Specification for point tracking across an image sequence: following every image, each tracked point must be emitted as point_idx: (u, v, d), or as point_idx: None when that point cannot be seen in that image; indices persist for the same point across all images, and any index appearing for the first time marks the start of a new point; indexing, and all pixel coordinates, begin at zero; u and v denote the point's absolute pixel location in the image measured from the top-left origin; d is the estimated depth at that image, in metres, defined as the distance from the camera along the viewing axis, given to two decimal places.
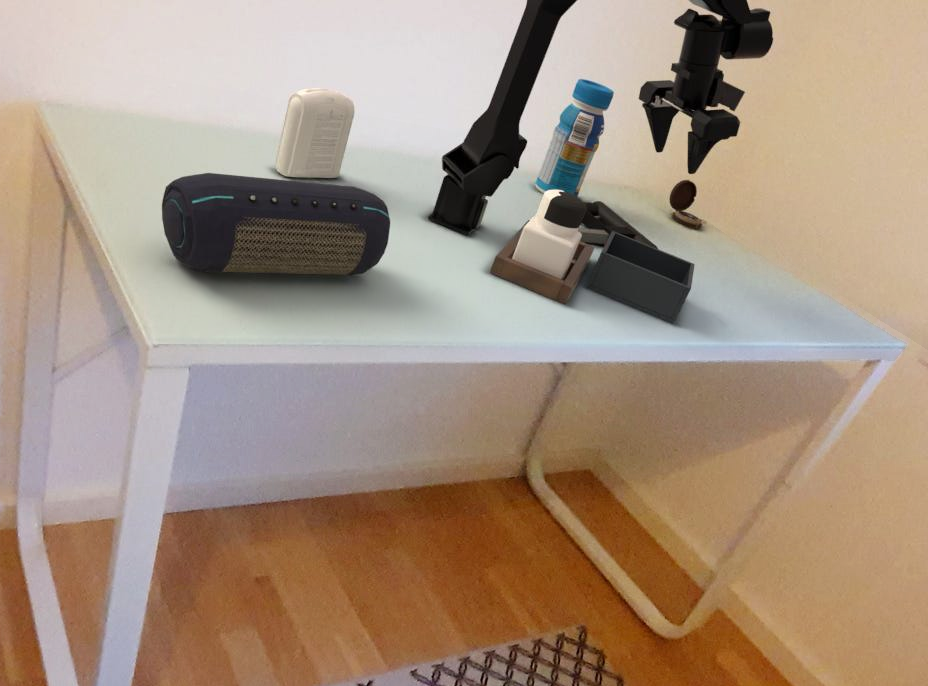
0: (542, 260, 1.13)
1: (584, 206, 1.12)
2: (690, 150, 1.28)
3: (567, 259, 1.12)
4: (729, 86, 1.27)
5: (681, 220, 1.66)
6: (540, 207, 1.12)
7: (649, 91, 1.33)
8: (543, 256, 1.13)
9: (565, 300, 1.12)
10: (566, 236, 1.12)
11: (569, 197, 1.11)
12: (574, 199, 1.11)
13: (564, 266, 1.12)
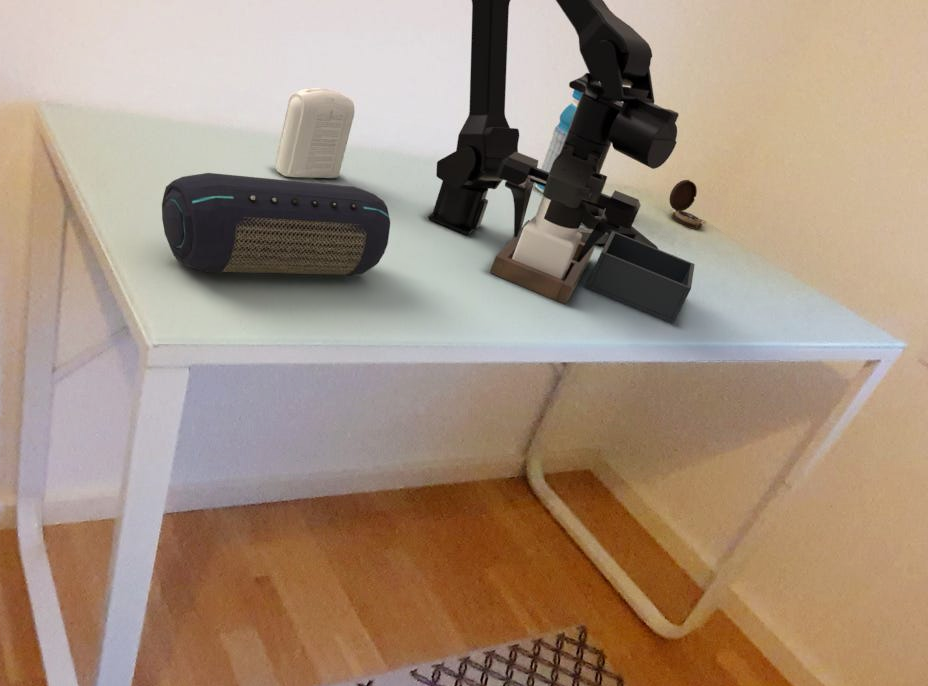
0: (542, 260, 1.13)
1: (584, 206, 1.12)
2: None
3: (567, 259, 1.12)
4: (556, 161, 1.06)
5: (681, 220, 1.66)
6: (540, 207, 1.12)
7: None
8: (543, 256, 1.13)
9: (565, 300, 1.12)
10: (566, 236, 1.13)
11: None
12: None
13: (564, 266, 1.13)
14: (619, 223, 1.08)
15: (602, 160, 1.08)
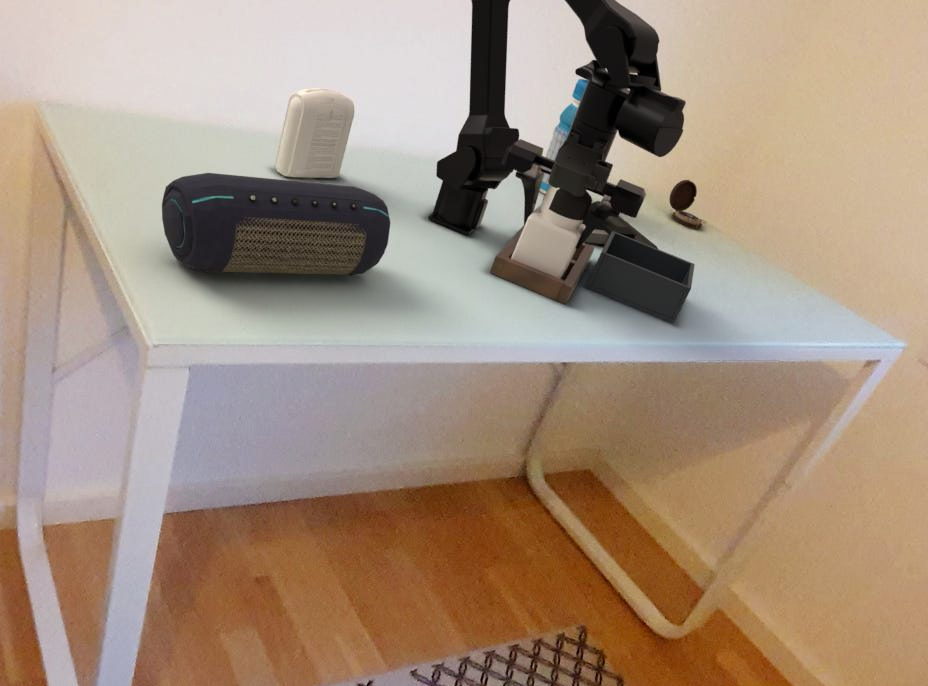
0: (545, 251, 1.12)
1: (589, 198, 1.11)
2: None
3: (570, 251, 1.11)
4: (561, 149, 1.05)
5: (681, 220, 1.66)
6: (545, 197, 1.12)
7: None
8: (546, 247, 1.12)
9: (565, 300, 1.12)
10: (570, 228, 1.12)
11: None
12: None
13: (567, 258, 1.12)
14: (624, 212, 1.08)
15: (608, 148, 1.07)
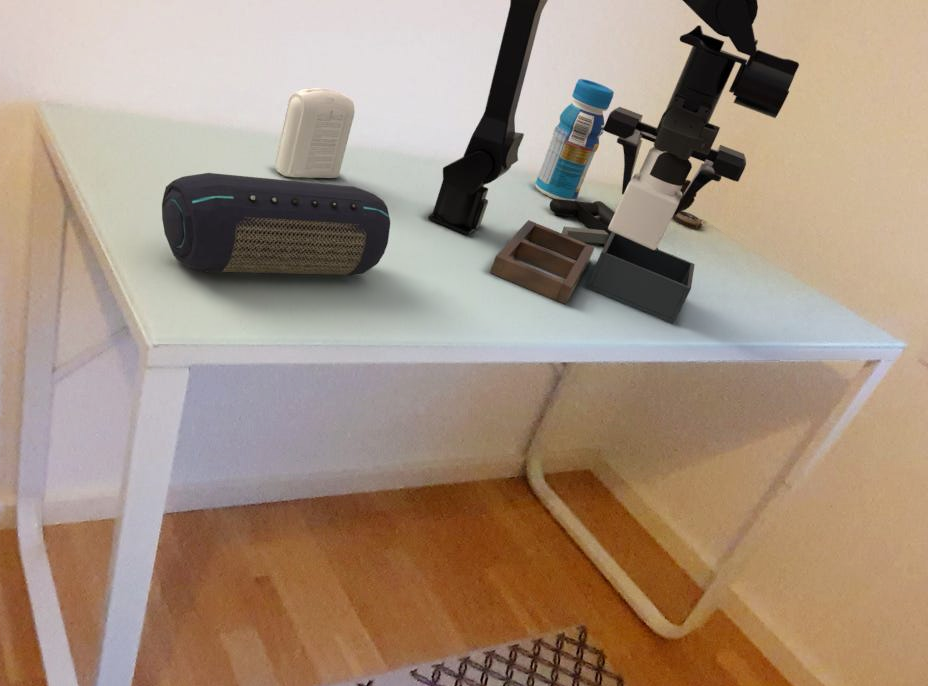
0: (645, 216, 1.14)
1: (690, 164, 1.12)
2: None
3: (671, 216, 1.13)
4: (667, 113, 1.06)
5: (681, 220, 1.66)
6: (645, 163, 1.13)
7: None
8: (646, 212, 1.13)
9: (565, 300, 1.12)
10: (670, 193, 1.13)
11: None
12: None
13: (667, 223, 1.13)
14: (727, 176, 1.09)
15: (711, 113, 1.08)
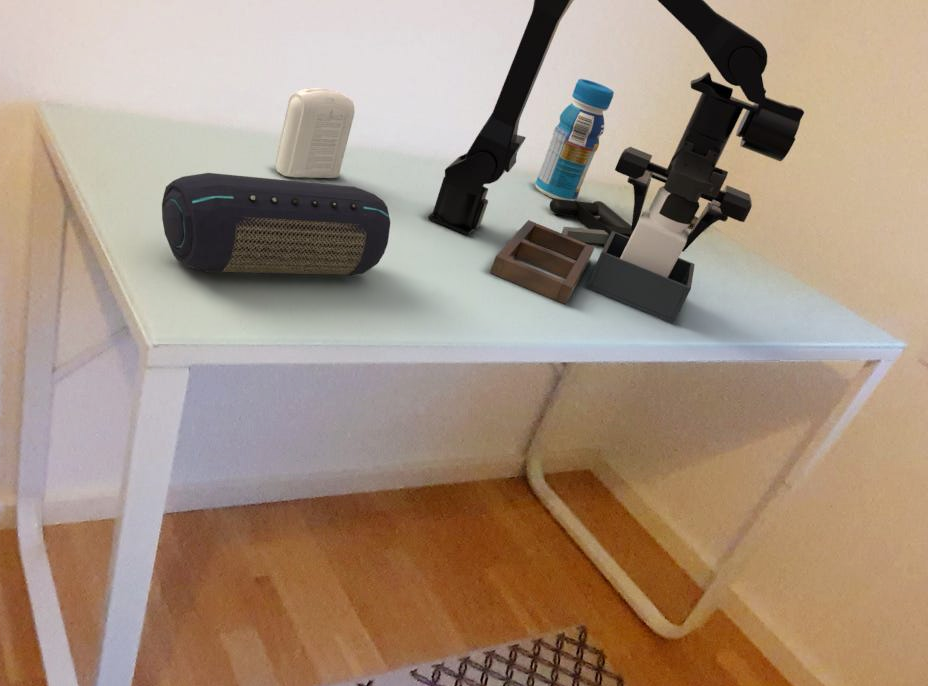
0: (654, 253, 1.18)
1: (698, 203, 1.17)
2: None
3: (679, 253, 1.17)
4: (677, 156, 1.11)
5: None
6: (655, 202, 1.17)
7: None
8: (655, 249, 1.18)
9: (565, 300, 1.12)
10: (678, 231, 1.18)
11: None
12: None
13: (675, 260, 1.18)
14: (734, 217, 1.13)
15: (719, 156, 1.13)
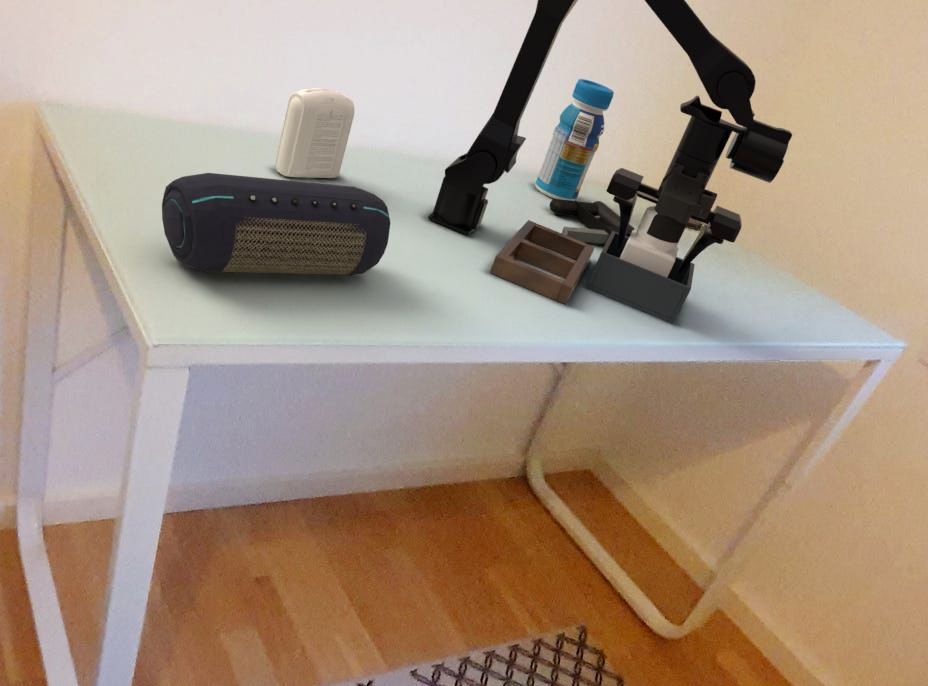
0: None
1: None
2: None
3: (668, 272, 1.19)
4: (667, 179, 1.12)
5: None
6: (642, 223, 1.19)
7: None
8: None
9: (565, 300, 1.12)
10: (667, 250, 1.19)
11: None
12: None
13: None
14: (724, 237, 1.15)
15: (709, 178, 1.14)
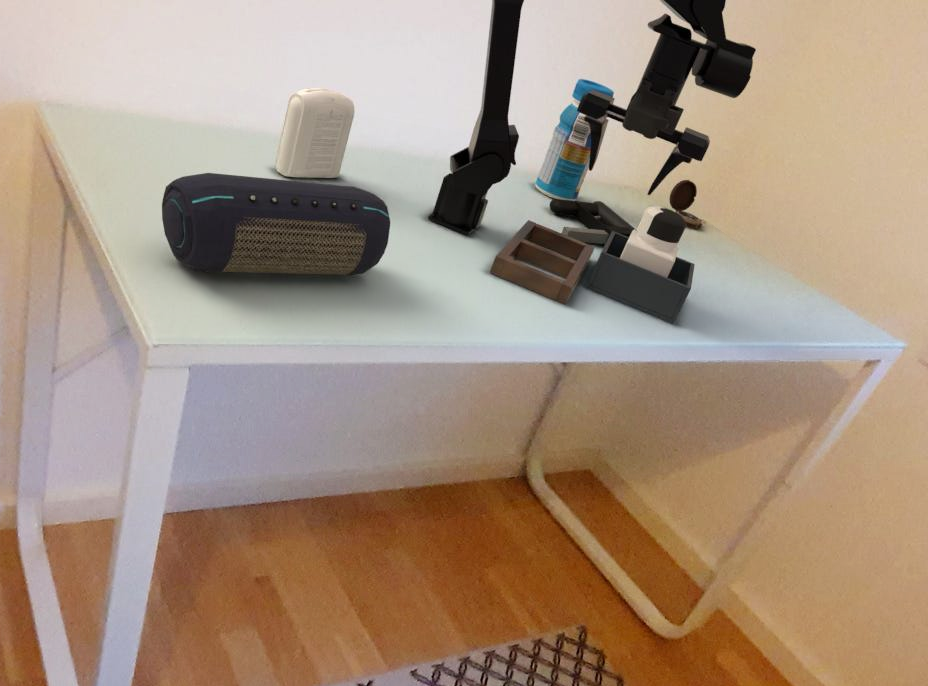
0: None
1: (684, 222, 1.18)
2: None
3: (668, 272, 1.19)
4: None
5: None
6: (642, 223, 1.19)
7: None
8: None
9: (565, 300, 1.12)
10: (667, 250, 1.19)
11: (671, 214, 1.18)
12: (675, 216, 1.18)
13: None
14: (691, 156, 1.17)
15: (677, 96, 1.16)
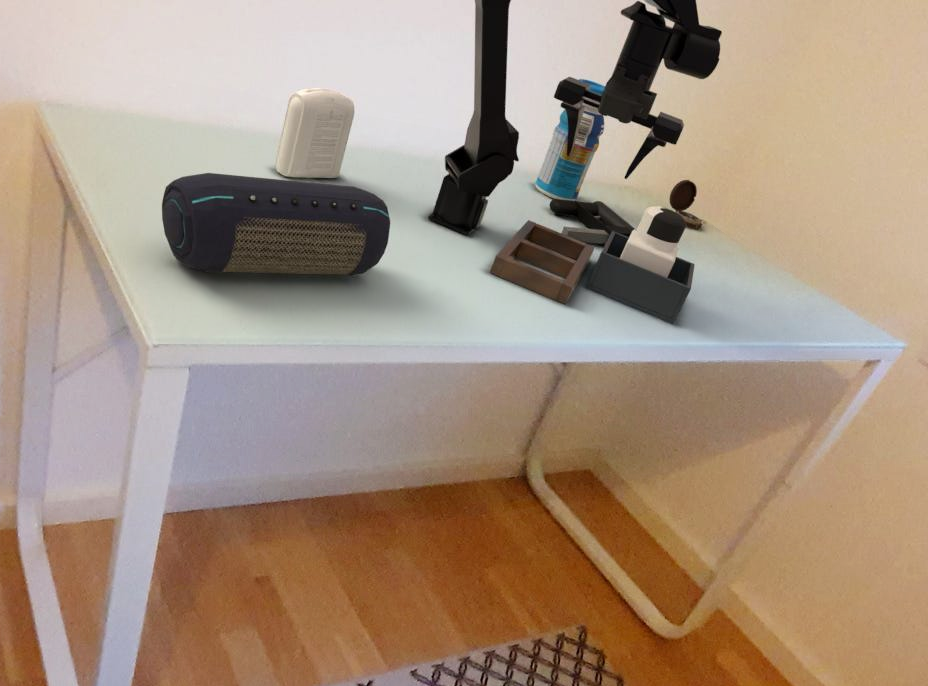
0: None
1: (684, 222, 1.18)
2: None
3: (668, 272, 1.19)
4: (610, 81, 1.17)
5: None
6: (642, 223, 1.19)
7: None
8: None
9: (565, 300, 1.12)
10: (667, 250, 1.19)
11: (671, 214, 1.18)
12: (675, 216, 1.18)
13: None
14: (665, 139, 1.19)
15: (651, 81, 1.19)
